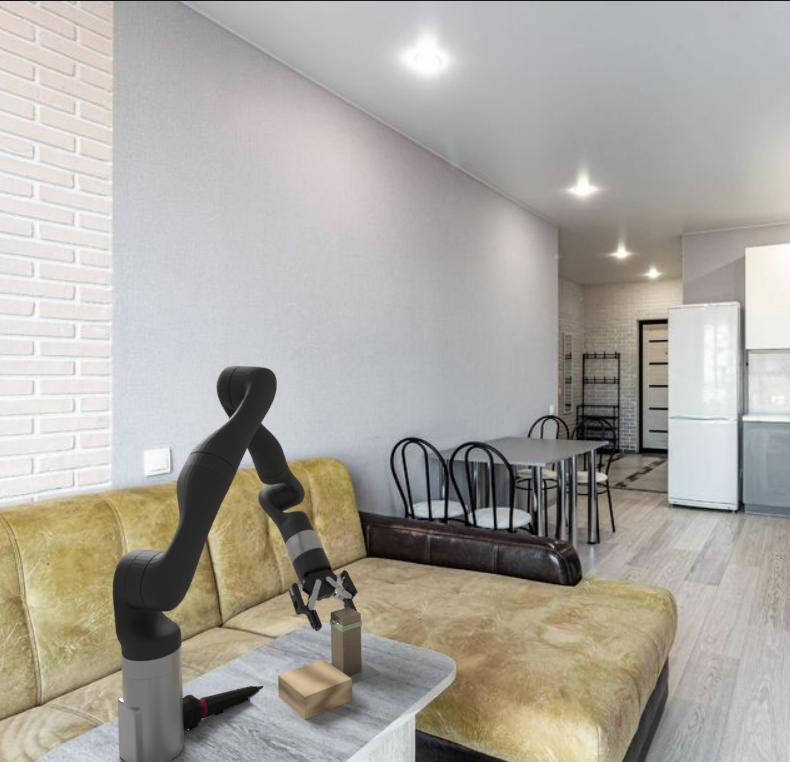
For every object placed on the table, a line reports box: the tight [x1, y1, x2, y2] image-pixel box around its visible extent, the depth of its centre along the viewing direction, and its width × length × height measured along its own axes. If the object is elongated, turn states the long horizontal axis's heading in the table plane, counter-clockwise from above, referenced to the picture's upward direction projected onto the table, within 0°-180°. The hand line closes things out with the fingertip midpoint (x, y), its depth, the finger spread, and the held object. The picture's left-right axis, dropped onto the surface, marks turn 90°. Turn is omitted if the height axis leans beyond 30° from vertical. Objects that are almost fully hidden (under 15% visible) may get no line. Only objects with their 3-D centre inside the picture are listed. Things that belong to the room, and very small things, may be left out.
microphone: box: [183, 685, 264, 731], centre depth 116 cm, size 6×6×20 cm
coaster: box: [329, 660, 382, 685], centre depth 128 cm, size 10×10×1 cm
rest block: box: [277, 659, 353, 720], centre depth 118 cm, size 10×10×5 cm
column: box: [329, 607, 363, 677], centre depth 128 cm, size 5×5×12 cm
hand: (336, 623), depth 130 cm, fingers open, 8 cm apart
